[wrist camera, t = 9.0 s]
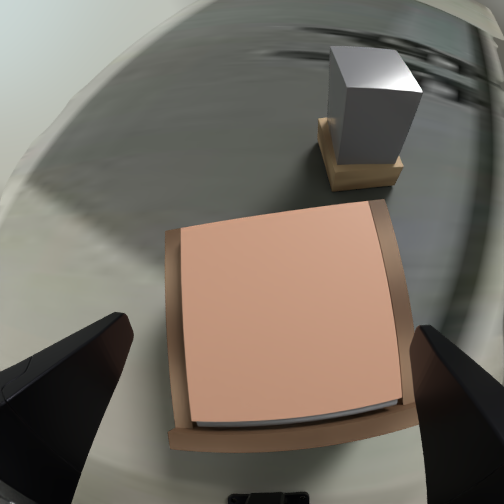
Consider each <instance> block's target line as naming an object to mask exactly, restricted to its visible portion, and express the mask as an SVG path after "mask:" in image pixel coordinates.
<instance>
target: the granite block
mask: <svg viewBox="0 0 504 504" xmlns="http://www.w3.org/2000/svg"><path fill="white" fill-rule="evenodd" d="M422 94H423V92H422V90H421V88H420V86H419V85H418V83H417V81H416V80H415V78H414V77H413V75H412V73H411V72H410V70H409V69H408V67H407V66H406V64H405V63H404V61H403V60H402V58H401V57H400V55H399V54H398V52H397V51H396V50H389V49H379V48H367V47H350V46H330V67H329V94H328V112H327V122H328V126H329V131H330V135H331V139H332V144H333V148H334V153H335V158H336V163H337V165H348V164H395V163H396V161H397V158H398V156H399V154H400V151H401V149H402V146H403V144H404V142H405V139H406V137H407V134H408V132H409V129H410V127H411V124H412V121H413V119H414V116H415V113H416V111H417V108H418V105H419V102H420V100H421V97H422Z"/></svg>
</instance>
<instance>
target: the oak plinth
mask: <svg viewBox="0 0 504 504" xmlns="http://www.w3.org/2000/svg"><path fill="white" fill-rule="evenodd" d="M318 143H319V146H320V150H321V153H322V157H323V160H324V164H325V167H326V171H327V175H328V179H329V182H330V186H331V190H332V192H335V191H344V190H352V189H362V188H371V187H381V186H392V185H395V183H396V181H397V179H398V177H399V175H400V173H401V171H402V169H403V164H402V162H401V159H400V157H399V156H398V158H397V161H396V163H395V164H348V165H337V163H336V158H335V153H334V148H333V144H332V139H331V135H330V131H329V126H328V122H327V118H319V119H318Z"/></svg>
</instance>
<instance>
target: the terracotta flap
mask: <svg viewBox="0 0 504 504" xmlns="http://www.w3.org/2000/svg"><path fill="white" fill-rule="evenodd" d="M181 284H182V310H183V330H184V345H185V359H186V371H187V382H188V392H189V402H190V411H191V419H192V421H196V422H197V425H198V426H200V427H246V426H267V425H280V424H291V423H301V422H309V421H317V420H324V419H330V418H336V417H342V416H348V415H353V414H358V413H363V412H367V411H372V410H376V409H380V408H385V407H389V406H392V405H396V404H397V401H398V399H399V398H402V389H401V375H400V364H399V354H398V345H397V337H396V330H395V323H394V316H393V310H392V304H391V298H390V292H389V287H388V281H387V276H386V272H385V267H384V262H383V258H382V253H381V249H380V244H379V240H378V236H377V232H376V228H375V224H374V221H373V217H372V213H371V210H370V206H369V203H368V201H363V202H354V203H346V204H338V205H330V206H322V207H315V208H307V209H300V210H293V211H285V212H278V213H272V214H265V215H258V216H252V217H245V218H239V219H232V220H226V221H220V222H214V223H208V224H202V225H196V226H190V227H185V228H181Z"/></svg>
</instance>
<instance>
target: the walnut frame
mask: <svg viewBox="0 0 504 504" xmlns="http://www.w3.org/2000/svg"><path fill="white" fill-rule="evenodd" d="M368 203H369V206H370V210H371V213H372V217H373V221H374V224H375V228H376V232H377V236H378V240H379V244H380V249H381V253H382V258H383V262H384V267H385V272H386V276H387V281H388V287H389V292H390V298H391V304H392V310H393V316H394V323H395V330H396V337H397V345H398V354H399V364H400V375H401V389H402V398H399V399H398V401H397V404H396V405H392V406H389V407H385V408H380V409H376V410H372V411H367V412H363V413H358V414H353V415H348V416H342V417H336V418H330V419H324V420H317V421H309V422H301V423H291V424H280V425H267V426H246V427H200V426H198V425H197V422H196V421H192V419H191V411H190V402H189V392H188V382H187V371H186V359H185V345H184V330H183V310H182V284H181V228H179V229H173V230H168V231H165V303H166V328H167V346H168V361H169V373H170V384H171V394H172V404H173V412H174V420H175V428H174V429H172V430H170V431H169V432H168V438H169V445H170V449H174V450H185V451H198V452H220V453H253V452H275V451H289V450H299V449H308V448H316V447H323V446H330V445H336V444H342V443H347V442H353V441H358V440H362V439H367V438H371V437H376V436H380V435H384V434H388V433H391V432H395V431H399V430H402V429H406V428H409V427H412V426H415V425H419V421H418V415H417V410H416V404H415V399H414V391H413V381H412V371H411V363H410V355H409V348H410V344H411V341H412V339H413V336H414V326H413V319H412V313H411V307H410V301H409V295H408V290H407V285H406V280H405V275H404V270H403V266H402V261H401V257H400V253H399V249H398V245H397V241H396V237H395V233H394V229H393V226H392V222H391V219H390V215H389V212H388V208H387V205H386V202H385V199H380V200H371V201H368Z"/></svg>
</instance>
